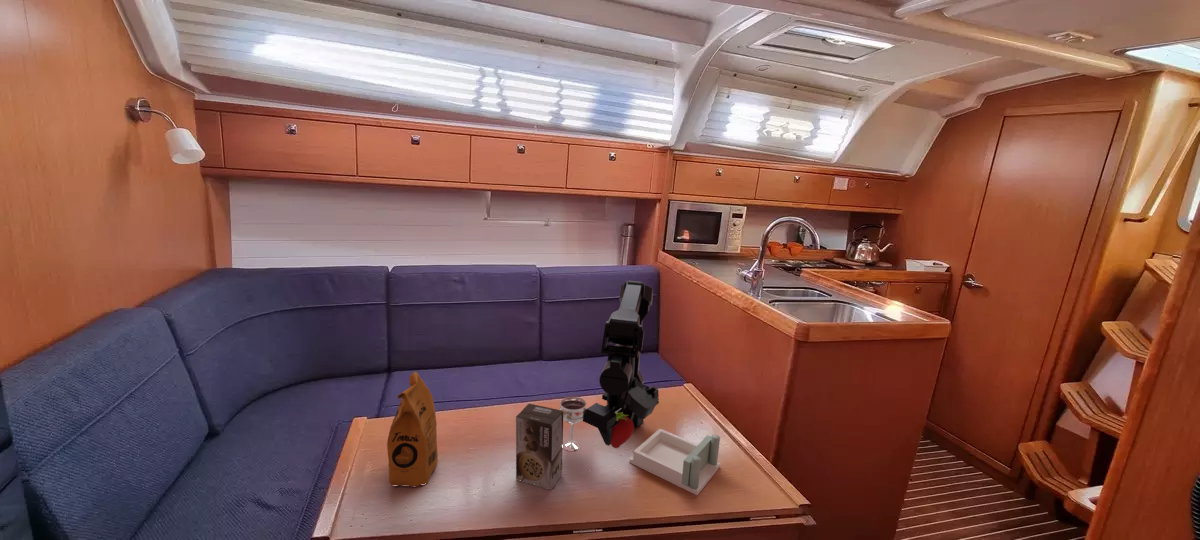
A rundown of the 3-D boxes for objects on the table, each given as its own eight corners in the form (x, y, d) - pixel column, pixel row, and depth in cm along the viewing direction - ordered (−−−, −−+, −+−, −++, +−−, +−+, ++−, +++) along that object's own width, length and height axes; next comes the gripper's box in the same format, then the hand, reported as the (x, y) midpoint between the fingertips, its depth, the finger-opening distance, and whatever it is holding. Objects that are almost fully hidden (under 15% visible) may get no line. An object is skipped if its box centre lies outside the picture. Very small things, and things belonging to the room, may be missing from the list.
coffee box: (562, 473, 105) (565, 410, 101) (551, 491, 99) (553, 424, 95) (527, 463, 108) (529, 402, 104) (514, 480, 102) (515, 415, 98)
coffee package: (381, 490, 96) (375, 396, 92) (401, 454, 109) (396, 370, 104) (428, 489, 97) (425, 396, 93) (443, 454, 109) (441, 370, 105)
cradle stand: (629, 462, 110) (631, 432, 108) (655, 438, 120) (657, 411, 119) (697, 495, 100) (700, 463, 98) (719, 466, 110) (723, 437, 108)
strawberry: (633, 456, 99) (636, 415, 96) (599, 455, 98) (601, 414, 96) (631, 441, 104) (634, 401, 102) (599, 439, 104) (601, 400, 102)
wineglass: (553, 449, 114) (555, 406, 111) (565, 435, 120) (567, 394, 117) (578, 456, 111) (580, 412, 109) (589, 442, 117) (591, 400, 115)
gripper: (628, 402, 85) (623, 474, 89) (674, 370, 100) (668, 433, 104) (582, 383, 92) (579, 451, 95) (631, 356, 107) (627, 416, 110)
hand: (616, 438), depth 101 cm, fingers closed on strawberry, 6 cm apart
